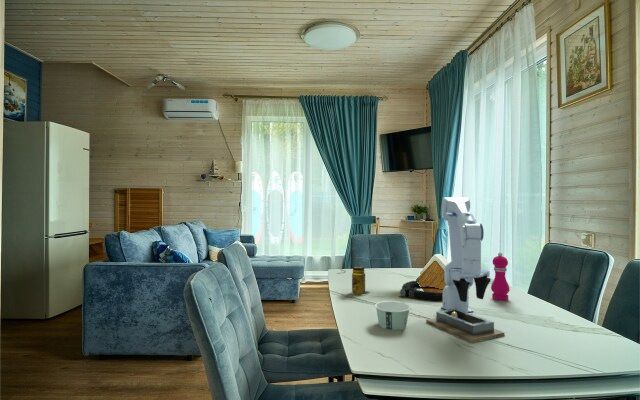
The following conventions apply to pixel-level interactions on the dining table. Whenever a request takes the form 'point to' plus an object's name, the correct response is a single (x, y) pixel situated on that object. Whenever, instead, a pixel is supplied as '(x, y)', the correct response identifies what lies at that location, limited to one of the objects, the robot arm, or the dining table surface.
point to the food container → (392, 314)
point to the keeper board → (463, 334)
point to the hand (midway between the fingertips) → (471, 299)
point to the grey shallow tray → (465, 322)
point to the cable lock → (419, 292)
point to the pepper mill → (500, 278)
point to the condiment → (358, 281)
